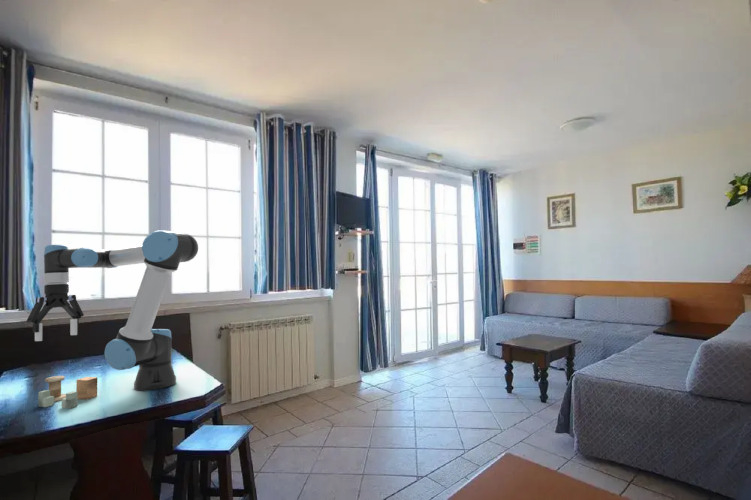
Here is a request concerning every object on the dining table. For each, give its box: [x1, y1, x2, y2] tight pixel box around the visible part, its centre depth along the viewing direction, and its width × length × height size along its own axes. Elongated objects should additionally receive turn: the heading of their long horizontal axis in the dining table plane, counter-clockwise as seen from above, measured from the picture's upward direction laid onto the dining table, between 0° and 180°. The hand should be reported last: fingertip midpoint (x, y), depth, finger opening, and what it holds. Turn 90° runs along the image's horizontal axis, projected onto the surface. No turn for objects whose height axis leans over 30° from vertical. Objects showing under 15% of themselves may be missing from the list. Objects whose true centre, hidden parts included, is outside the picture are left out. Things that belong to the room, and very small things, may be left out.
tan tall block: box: [75, 376, 98, 400], centre depth 147 cm, size 5×4×7 cm
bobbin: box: [44, 375, 66, 403], centre depth 145 cm, size 7×7×8 cm
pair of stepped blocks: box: [37, 389, 78, 409], centre depth 138 cm, size 14×2×5 cm, turn 77°
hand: (56, 337), depth 154 cm, fingers open, 13 cm apart
